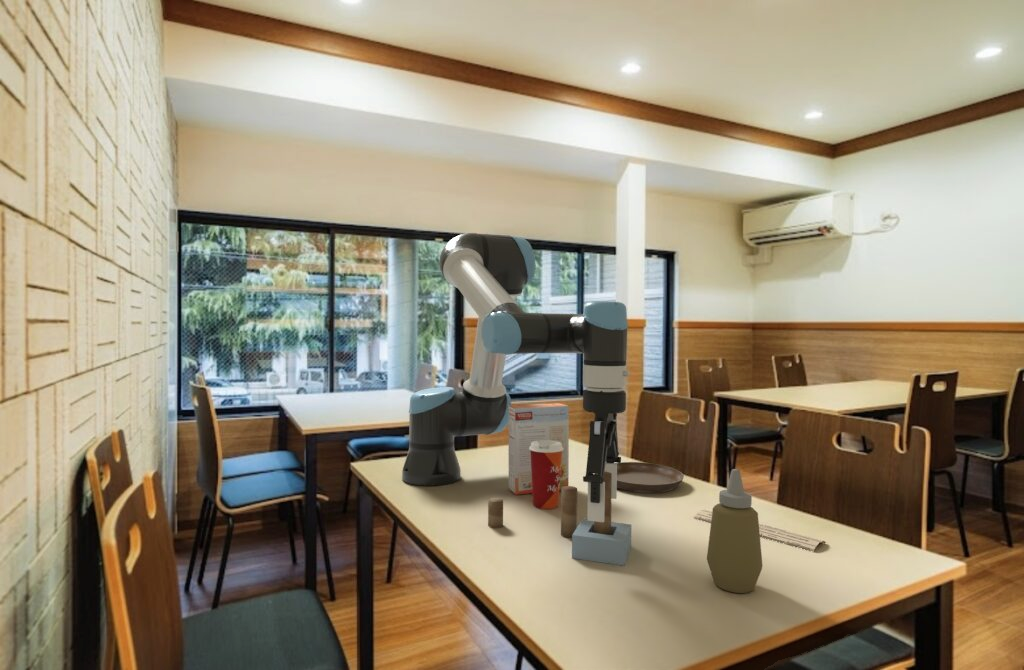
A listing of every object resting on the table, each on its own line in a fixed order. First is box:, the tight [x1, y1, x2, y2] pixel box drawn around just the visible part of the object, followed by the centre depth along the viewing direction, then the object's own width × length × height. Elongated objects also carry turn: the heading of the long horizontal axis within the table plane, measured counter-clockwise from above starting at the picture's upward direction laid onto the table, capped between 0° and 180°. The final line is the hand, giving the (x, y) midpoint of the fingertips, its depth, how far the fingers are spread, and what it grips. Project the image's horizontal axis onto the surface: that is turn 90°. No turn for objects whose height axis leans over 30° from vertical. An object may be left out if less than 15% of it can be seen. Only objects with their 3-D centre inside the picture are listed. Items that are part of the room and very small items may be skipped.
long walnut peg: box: [594, 472, 612, 535], centre depth 100 cm, size 3×3×14 cm
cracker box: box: [507, 402, 570, 496], centre depth 138 cm, size 14×6×21 cm, turn 108°
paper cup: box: [529, 440, 563, 510], centre depth 126 cm, size 8×8×14 cm
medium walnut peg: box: [560, 485, 578, 539], centre depth 108 cm, size 3×3×9 cm
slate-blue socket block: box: [571, 518, 632, 567], centre depth 100 cm, size 9×9×4 cm
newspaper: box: [693, 509, 827, 553], centre depth 112 cm, size 24×7×2 cm, turn 43°
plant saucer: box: [615, 461, 685, 494], centre depth 145 cm, size 21×21×3 cm
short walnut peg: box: [487, 497, 504, 529], centre depth 113 cm, size 3×3×5 cm
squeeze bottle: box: [706, 468, 763, 594], centre depth 88 cm, size 8×8×18 cm
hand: (602, 508), depth 100 cm, fingers open, 13 cm apart
